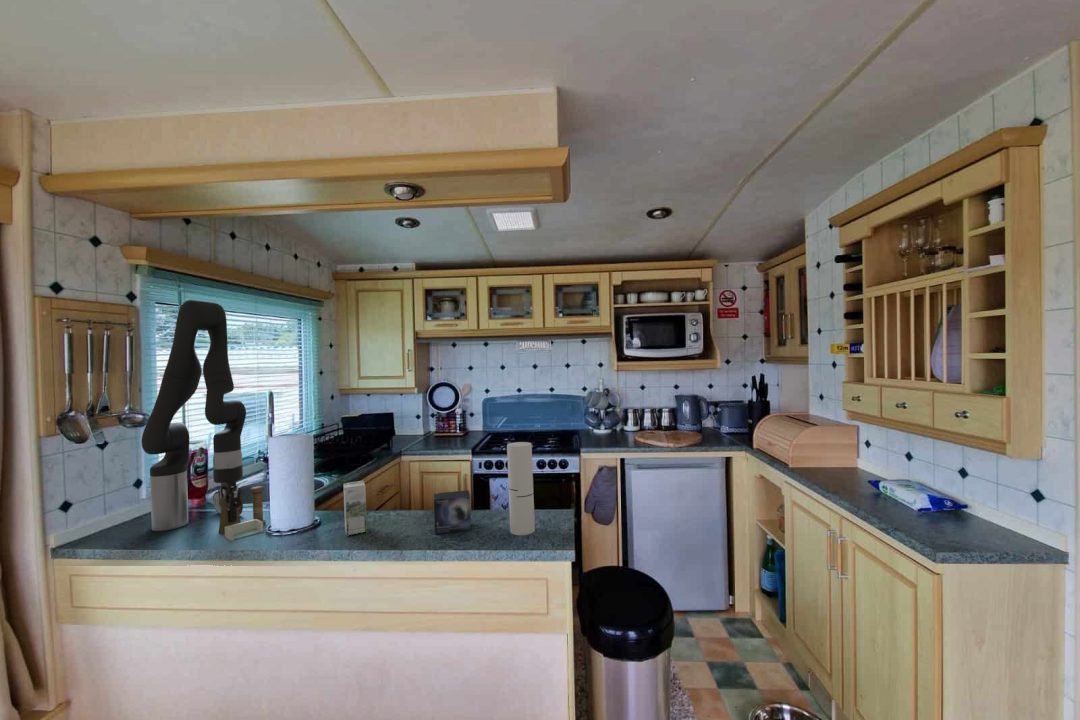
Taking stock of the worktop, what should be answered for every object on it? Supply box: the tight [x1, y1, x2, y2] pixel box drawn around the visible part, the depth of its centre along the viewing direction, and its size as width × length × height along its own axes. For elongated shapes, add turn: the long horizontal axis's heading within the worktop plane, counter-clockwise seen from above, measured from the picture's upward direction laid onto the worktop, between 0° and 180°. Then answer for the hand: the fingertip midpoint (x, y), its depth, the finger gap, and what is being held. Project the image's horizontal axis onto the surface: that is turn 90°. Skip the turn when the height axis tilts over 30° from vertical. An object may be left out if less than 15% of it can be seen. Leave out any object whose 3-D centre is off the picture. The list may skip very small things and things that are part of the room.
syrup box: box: [343, 480, 368, 537], centre depth 135 cm, size 6×6×14 cm
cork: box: [218, 496, 242, 535], centre depth 140 cm, size 6×6×11 cm
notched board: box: [224, 519, 264, 542], centre depth 136 cm, size 6×8×3 cm, turn 140°
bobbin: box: [249, 485, 267, 526], centre depth 144 cm, size 4×4×12 cm
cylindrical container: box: [506, 441, 536, 536], centre depth 131 cm, size 7×7×25 cm
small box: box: [433, 489, 472, 535], centre depth 134 cm, size 11×6×10 cm, turn 103°
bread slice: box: [212, 490, 244, 516], centre depth 156 cm, size 15×3×8 cm, turn 60°
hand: (229, 520), depth 140 cm, fingers closed on cork, 4 cm apart
